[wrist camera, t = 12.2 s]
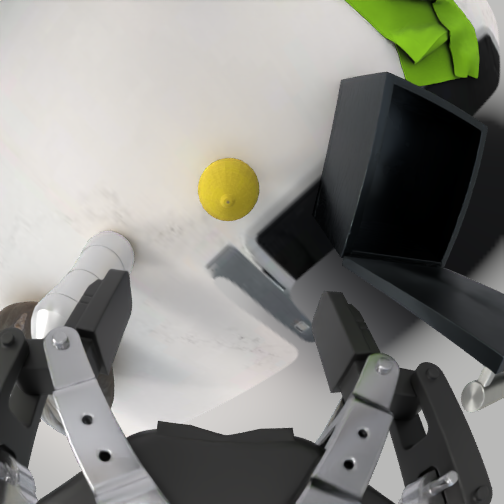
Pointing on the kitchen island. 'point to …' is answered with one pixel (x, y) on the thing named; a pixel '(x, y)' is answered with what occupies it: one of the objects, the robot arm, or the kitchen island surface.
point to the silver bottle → (81, 280)
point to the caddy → (397, 172)
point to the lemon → (228, 189)
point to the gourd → (21, 319)
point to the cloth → (425, 37)
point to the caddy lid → (448, 315)
